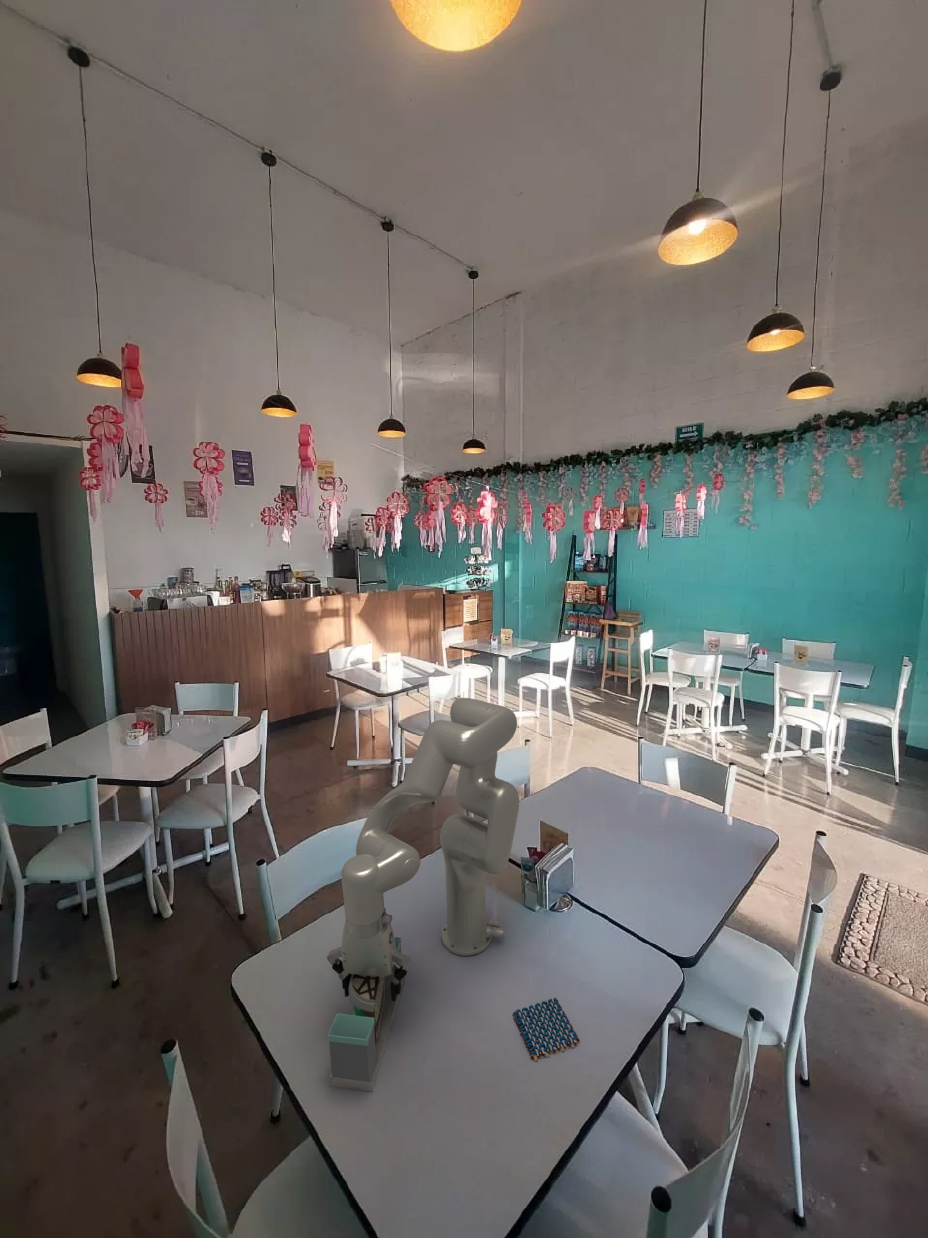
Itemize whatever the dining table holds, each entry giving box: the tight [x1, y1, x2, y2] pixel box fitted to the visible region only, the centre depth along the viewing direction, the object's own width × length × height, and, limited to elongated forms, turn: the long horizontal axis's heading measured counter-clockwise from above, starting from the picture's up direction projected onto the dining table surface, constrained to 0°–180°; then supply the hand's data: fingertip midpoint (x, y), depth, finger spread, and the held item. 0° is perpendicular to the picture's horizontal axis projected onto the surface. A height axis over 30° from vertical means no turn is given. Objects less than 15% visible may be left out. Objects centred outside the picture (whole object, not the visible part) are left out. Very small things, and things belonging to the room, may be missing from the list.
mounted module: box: [327, 1013, 376, 1082], centre depth 93 cm, size 7×4×9 cm, turn 82°
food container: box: [348, 974, 385, 1040], centre depth 103 cm, size 12×6×10 cm, turn 179°
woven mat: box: [512, 997, 581, 1062], centre depth 102 cm, size 10×11×2 cm
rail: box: [329, 976, 406, 1093], centre depth 103 cm, size 8×23×2 cm, turn 172°
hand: (372, 993), depth 103 cm, fingers open, 9 cm apart
